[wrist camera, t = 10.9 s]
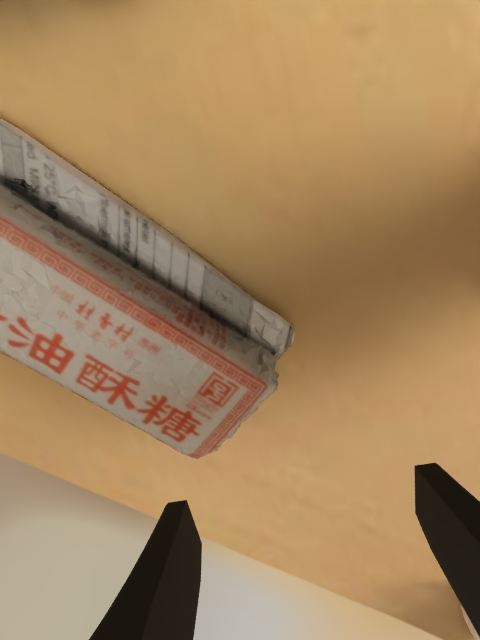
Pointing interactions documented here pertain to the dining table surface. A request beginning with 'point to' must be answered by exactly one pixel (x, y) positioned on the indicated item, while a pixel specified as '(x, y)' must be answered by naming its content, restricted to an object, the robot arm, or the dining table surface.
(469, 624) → the mug
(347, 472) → the dining table surface
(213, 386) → the packaged product
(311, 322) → the dining table surface
